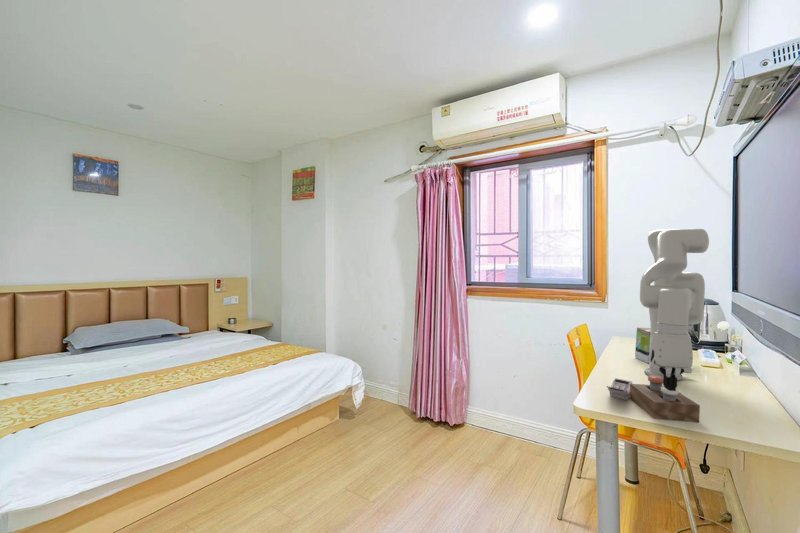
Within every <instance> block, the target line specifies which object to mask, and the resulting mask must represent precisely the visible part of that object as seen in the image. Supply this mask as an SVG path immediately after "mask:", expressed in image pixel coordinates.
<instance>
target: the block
mask: <svg viewBox="0 0 800 533" xmlns="http://www.w3.org/2000/svg"><path fill="white" fill-rule="evenodd" d="M663 386H664V385H662V387H663ZM629 399H630V400H631V401H633V402H634V403H635V404H636V405H637V406H638V407H640V408H641V409H642V410H643V412H645V413H647V415H650V417H651V418H653V419H654V420H666V421H680V422H688V423H689V422H693V423H700V409H701V408H700V407H701V405H700V404H698V403H697V402H695V401H693V400H692V399H690V398H689V397H688V396H686V395H684V394H682V393H681V392H679V395H677V396H676V401H665V400H664V399H663V393H662V392H658V391H651V390H650V384H641V383H632V384H630V394H629Z"/></svg>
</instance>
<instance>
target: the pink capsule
mask: <svg viewBox="0 0 800 533" xmlns="http://www.w3.org/2000/svg"><path fill="white" fill-rule="evenodd" d="M647 381H649V385H650V390H651V391H658V392H661V387H662V386H663V377H660V376H654V375H647Z"/></svg>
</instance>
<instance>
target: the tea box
mask: <svg viewBox="0 0 800 533" xmlns="http://www.w3.org/2000/svg"><path fill="white" fill-rule="evenodd" d="M650 332H651V327H637V328H636V335H635V337H636V338H635V352H634V353H635V354H634V358H636V359H638V360H640V361H642V362H644V363H646V364H649V353H650Z"/></svg>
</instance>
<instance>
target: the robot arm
mask: <svg viewBox="0 0 800 533" xmlns="http://www.w3.org/2000/svg"><path fill="white" fill-rule="evenodd" d="M647 242H648V247H649V249H650V252H651V254H652V256H653V258H654V264H652V265H651V266H650V267H648V268H647V270H645V271H644V272H643V275H642V276H641V278H640V284H639V285H640V286H639V287H640V288H639V301H640V303H641V305H642V306H643V307H645V308H647V309H648V313H649V314H648V315H649V322H650V328H651V332H650V353H649V363H648V364H649V367H647V368H645V369H644V374H645V375H647V376H649V375H654V376H660V377H663V384H662V386H664V387H665V388H666V389H668V390H669V391H672V390H673V391H676V389H677V387H678V381H680V380H683V378H684V377H683V375H682V374H684V373H685V374H693V371H692V366H693V362H694V360H693V359H694V357H693V356H694V352H693V343H692V339H691V335H690V334H689V332H692V331H693V326H692V325H698V324H701V323H702V322H703V320H704V313H705V312H704V311H705V293H706V292H705V289H706V288H705V286H706V285H705V279H704V276H703V275H702V274H701V273H698V272H694V271H693V272H692V271H685V270H686V269H687V267H688V254H704V253H705V252H707V250H708V248H709V246H710V245H709V244H710V238H709V234H708V233H707V231H706V230H705V229H703V228H667V229H666V228H665V229H656V230H652V231H650V232H649V233H648V234H647ZM652 283H653V284H652ZM651 284H652V285H651ZM690 325H691V326H690Z"/></svg>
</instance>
